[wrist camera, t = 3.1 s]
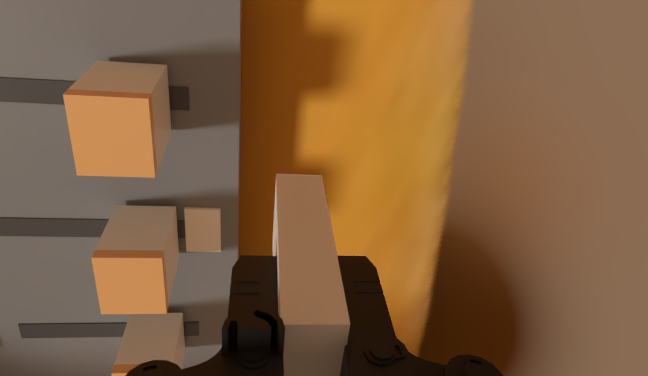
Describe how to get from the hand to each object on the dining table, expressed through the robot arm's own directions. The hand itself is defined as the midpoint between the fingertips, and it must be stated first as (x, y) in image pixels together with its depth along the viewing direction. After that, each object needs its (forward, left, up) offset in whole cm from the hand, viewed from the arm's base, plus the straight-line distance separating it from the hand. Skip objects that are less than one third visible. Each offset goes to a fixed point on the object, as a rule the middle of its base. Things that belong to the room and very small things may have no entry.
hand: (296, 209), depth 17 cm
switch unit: (-11, -8, -13) cm, 19 cm away
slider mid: (-7, -8, -10) cm, 15 cm away
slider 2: (-7, -16, -10) cm, 20 cm away
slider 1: (-7, 0, -10) cm, 12 cm away
